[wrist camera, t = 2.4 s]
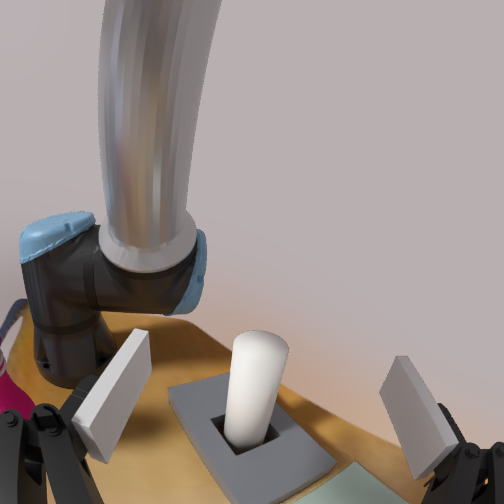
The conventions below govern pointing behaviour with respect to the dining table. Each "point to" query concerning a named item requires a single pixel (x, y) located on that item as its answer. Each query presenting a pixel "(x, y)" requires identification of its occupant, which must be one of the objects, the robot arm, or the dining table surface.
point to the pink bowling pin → (13, 393)
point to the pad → (352, 489)
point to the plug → (253, 388)
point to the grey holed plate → (256, 460)
